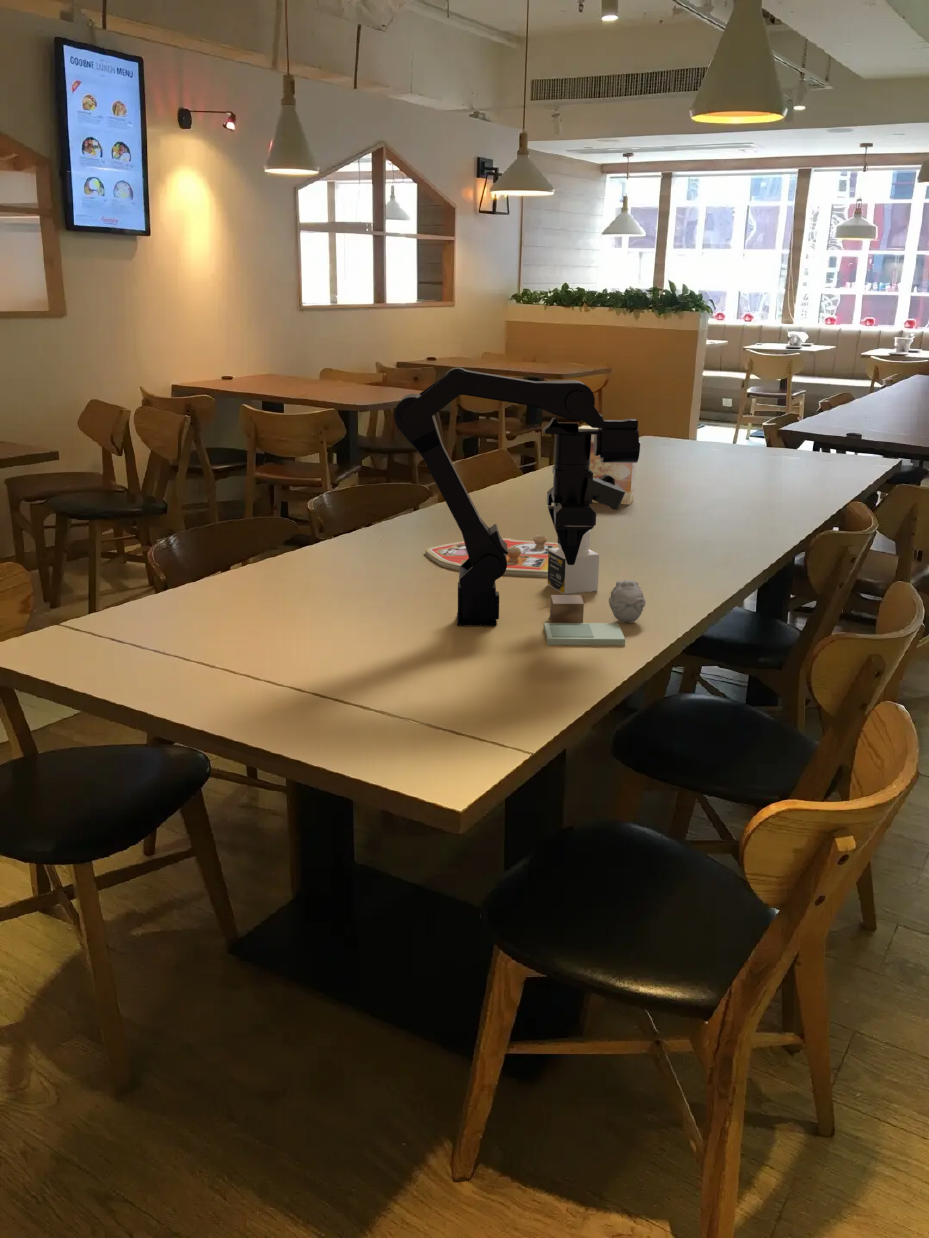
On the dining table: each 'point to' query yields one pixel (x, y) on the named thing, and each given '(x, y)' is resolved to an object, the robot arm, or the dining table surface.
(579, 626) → the base board
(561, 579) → the medicine bottle
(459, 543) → the knob puzzle
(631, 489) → the coffeecake box
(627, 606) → the grey lumpy rounded piece
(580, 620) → the walnut block
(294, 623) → the dining table surface
